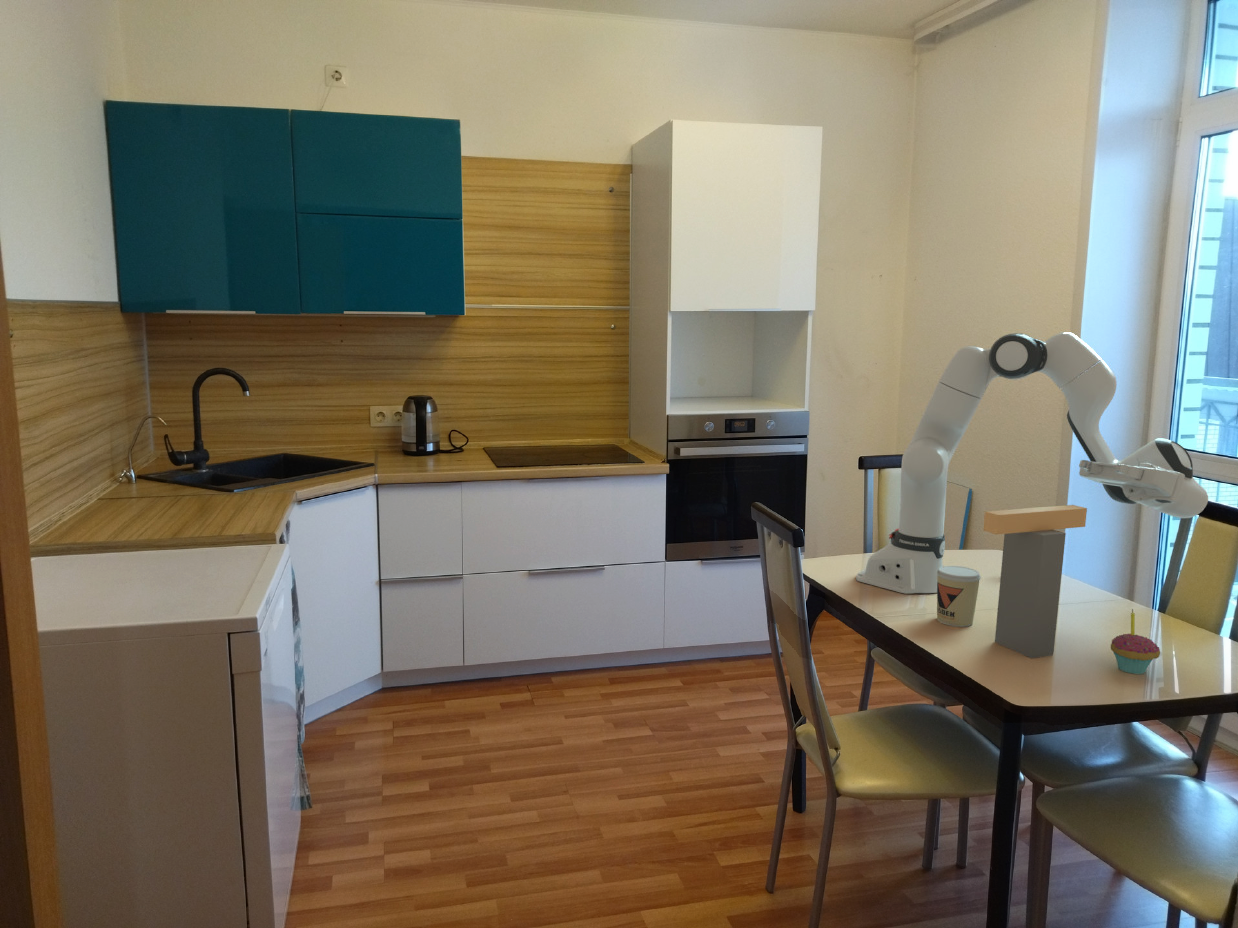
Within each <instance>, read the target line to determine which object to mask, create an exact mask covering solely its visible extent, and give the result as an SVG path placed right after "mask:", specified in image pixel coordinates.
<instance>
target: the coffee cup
mask: <svg viewBox="0 0 1238 928" xmlns="http://www.w3.org/2000/svg"><path fill="white" fill-rule="evenodd" d="M937 575H938V576H937V593H936V619H937V622H939V623H941V624H944V625H946V626H950V627H958V628H959V627H961V628H964V627H971V626H972V625H973V623H974V617H975V611H976V605H977V599H978V594H979V587H980V586H979V585H980V580H981V577H982V576H981V575H980V572H979V571H978V570H977V569H973V568H970V567H965V566H958V565H944V566H943V567H940V568H939V569H938V571H937Z"/></svg>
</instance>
